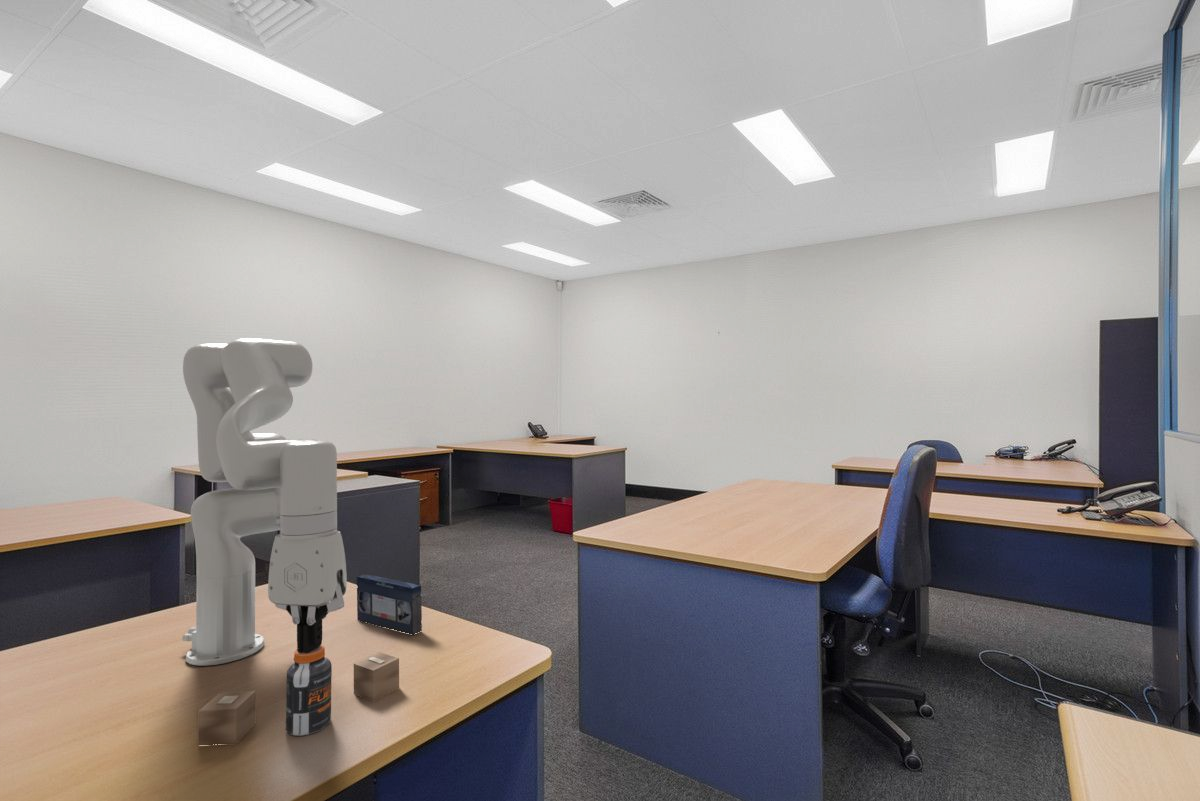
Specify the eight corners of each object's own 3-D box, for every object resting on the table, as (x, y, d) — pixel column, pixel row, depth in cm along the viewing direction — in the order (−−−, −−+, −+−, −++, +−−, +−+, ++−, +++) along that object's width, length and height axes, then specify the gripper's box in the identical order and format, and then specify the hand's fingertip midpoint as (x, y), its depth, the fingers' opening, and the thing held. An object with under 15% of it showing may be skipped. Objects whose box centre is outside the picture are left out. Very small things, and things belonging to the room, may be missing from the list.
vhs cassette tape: (356, 620, 123) (356, 576, 123) (368, 616, 125) (367, 572, 126) (411, 637, 113) (410, 589, 113) (422, 632, 116) (422, 585, 116)
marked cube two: (353, 694, 90) (353, 662, 90) (379, 681, 95) (379, 651, 95) (373, 702, 88) (373, 669, 88) (399, 688, 92) (399, 657, 92)
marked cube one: (198, 747, 76) (198, 709, 76) (220, 726, 81) (220, 691, 81) (236, 744, 77) (236, 707, 77) (255, 724, 82) (255, 689, 82)
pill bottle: (311, 739, 78) (312, 659, 78) (275, 734, 79) (276, 655, 79) (339, 716, 84) (340, 641, 84) (305, 712, 85) (306, 638, 85)
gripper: (245, 528, 79) (245, 656, 79) (337, 530, 77) (338, 663, 76) (284, 518, 87) (284, 636, 86) (369, 520, 84) (370, 641, 84)
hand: (309, 648), depth 81 cm, fingers closed
